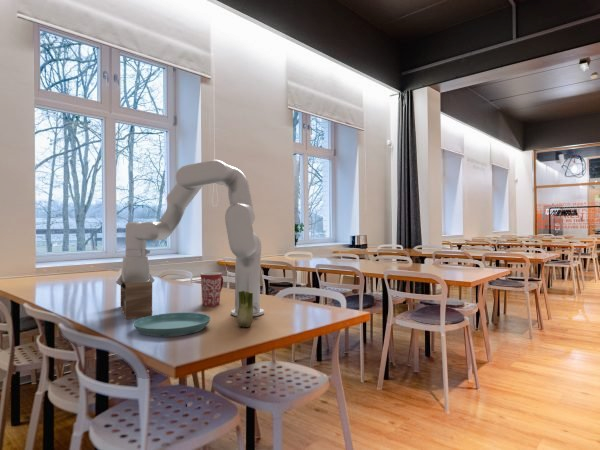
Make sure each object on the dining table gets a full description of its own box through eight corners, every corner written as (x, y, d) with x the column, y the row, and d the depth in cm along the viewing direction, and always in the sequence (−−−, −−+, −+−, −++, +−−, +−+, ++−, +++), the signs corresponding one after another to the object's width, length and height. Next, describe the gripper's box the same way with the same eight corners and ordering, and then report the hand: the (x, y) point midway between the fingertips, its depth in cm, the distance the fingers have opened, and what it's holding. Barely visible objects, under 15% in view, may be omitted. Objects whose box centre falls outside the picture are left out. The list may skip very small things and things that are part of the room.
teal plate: (200, 318, 151) (200, 309, 151) (219, 334, 130) (219, 323, 130) (129, 325, 140) (130, 315, 140) (137, 343, 119) (137, 332, 119)
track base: (152, 316, 153) (152, 281, 153) (125, 319, 149) (126, 283, 149) (143, 304, 176) (143, 274, 176) (120, 306, 172) (120, 275, 172)
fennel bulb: (254, 327, 137) (255, 291, 137) (241, 329, 134) (241, 292, 134) (248, 324, 142) (248, 289, 142) (234, 325, 139) (234, 290, 140)
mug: (212, 307, 171) (213, 274, 171) (195, 305, 175) (195, 273, 175) (230, 302, 183) (230, 272, 183) (214, 300, 187) (214, 271, 187)
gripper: (156, 252, 170) (156, 296, 170) (111, 253, 162) (111, 299, 162) (159, 253, 163) (159, 299, 163) (113, 254, 155) (112, 303, 155)
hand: (135, 299), depth 162 cm, fingers open, 4 cm apart
